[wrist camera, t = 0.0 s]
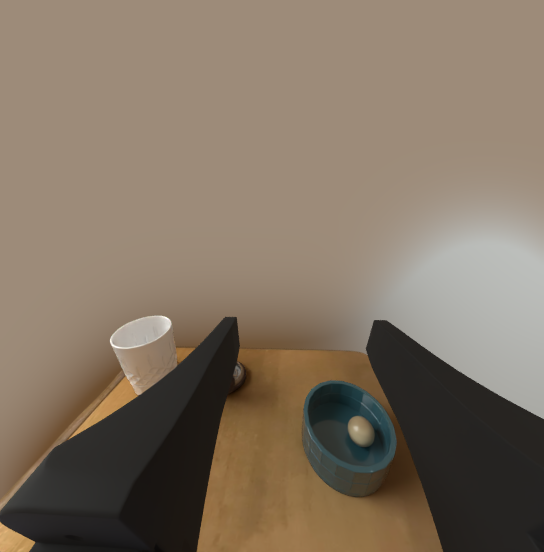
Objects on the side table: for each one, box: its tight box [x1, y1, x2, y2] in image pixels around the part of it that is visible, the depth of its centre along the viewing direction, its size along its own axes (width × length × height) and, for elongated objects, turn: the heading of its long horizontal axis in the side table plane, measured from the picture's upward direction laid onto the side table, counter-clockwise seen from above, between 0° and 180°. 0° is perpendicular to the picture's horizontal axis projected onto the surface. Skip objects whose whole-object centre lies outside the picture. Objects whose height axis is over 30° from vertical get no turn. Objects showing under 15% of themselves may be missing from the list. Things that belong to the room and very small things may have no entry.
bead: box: [348, 416, 375, 447], centre depth 24 cm, size 3×3×3 cm
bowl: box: [302, 381, 397, 497], centre depth 24 cm, size 10×10×4 cm
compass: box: [228, 361, 246, 394], centre depth 31 cm, size 8×8×7 cm
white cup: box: [110, 316, 178, 395], centre depth 31 cm, size 8×8×10 cm
